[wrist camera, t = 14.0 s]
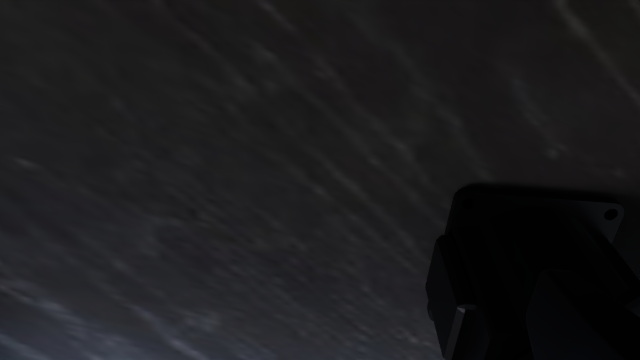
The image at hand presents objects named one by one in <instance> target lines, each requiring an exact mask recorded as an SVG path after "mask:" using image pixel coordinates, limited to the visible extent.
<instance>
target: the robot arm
mask: <svg viewBox="0 0 640 360" xmlns="http://www.w3.org/2000/svg"><path fill="white" fill-rule="evenodd" d="M467 198H472V199H473V200H472V201H471V202H470V203H468V204H463V203H462V202H463V201H464V200H465V199H467ZM609 209H613V210H612V211H611V212H610V213H609V214H605V212H606V211H608V210H609ZM624 212H625V211H624V208H623V206H622V205H621V204H620V203H619V202H618V201H617V200H616V199H613V198H605V197H592V196H579V195H566V194H553V193H540V192H527V191H514V190H501V189H488V188H475V187H464V188H462V189H460V190H458V191H457V192H456V193H455V195H454V197H453V201H452V205H451V210H450V214H449V218H448V222H447V226H446V230H445V235H441V236H440V237H439V238H438V239H437V240H436V243H435V247H434V251H433V256H432V260H431V264H430V269H429V273H428V277H427V282H426V292H427V296H428V300H429V302H428V306H427V310H428V315H429V317H430V319H431V320H432V321H434V324H435V328H436V332H437V336H438V340H439V344H440V348H441V352H442V356H443V358H444V359H445V360H640V281H639V279H638V278H637V277H636V275H635V274H634V273H633V272H632V270H631V269H630V268H629V266H628V265H627V264H626V262H625V261H624V260H623V259H622V257H621V256H620V255H619V253H618V252H617V251H616V249H615V248H614V247H613V246H612V242H613V240H614V238H615V235H616V233H617V231H618V228H619V226H620V223H621V221H622V219H623V216H624ZM604 214H605V215H604Z"/></svg>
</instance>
